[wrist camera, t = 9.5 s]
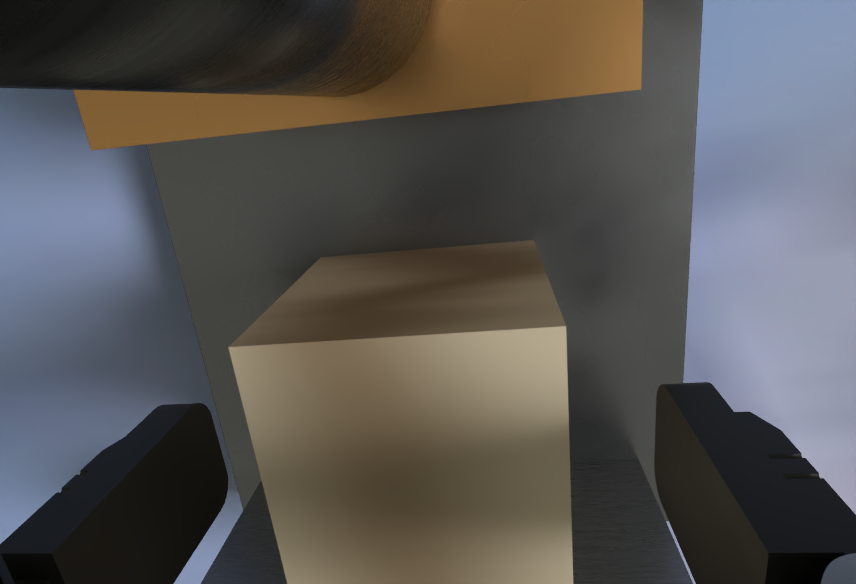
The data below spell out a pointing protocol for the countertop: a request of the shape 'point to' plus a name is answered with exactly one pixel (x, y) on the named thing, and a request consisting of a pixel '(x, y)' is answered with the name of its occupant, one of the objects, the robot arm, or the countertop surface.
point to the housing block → (414, 419)
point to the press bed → (471, 225)
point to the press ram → (309, 59)
